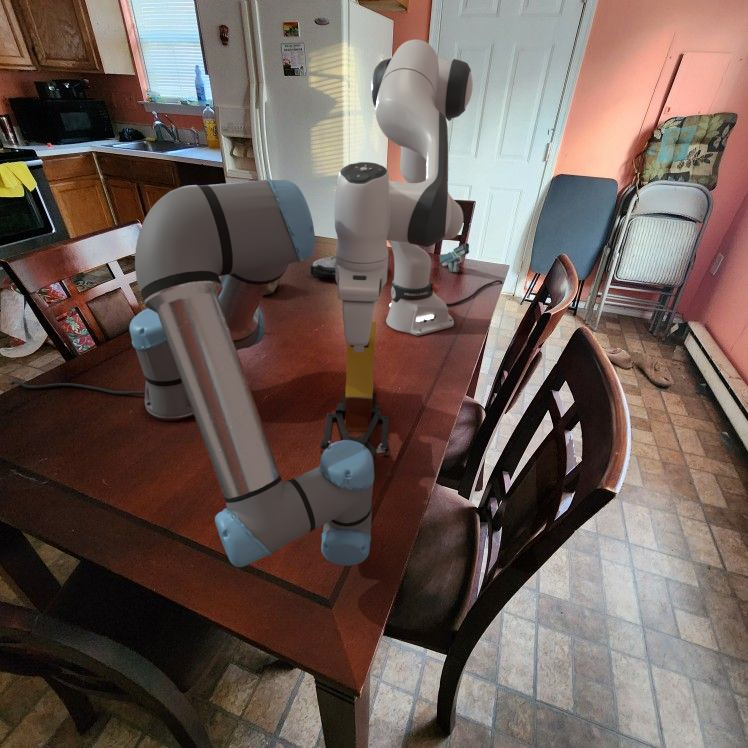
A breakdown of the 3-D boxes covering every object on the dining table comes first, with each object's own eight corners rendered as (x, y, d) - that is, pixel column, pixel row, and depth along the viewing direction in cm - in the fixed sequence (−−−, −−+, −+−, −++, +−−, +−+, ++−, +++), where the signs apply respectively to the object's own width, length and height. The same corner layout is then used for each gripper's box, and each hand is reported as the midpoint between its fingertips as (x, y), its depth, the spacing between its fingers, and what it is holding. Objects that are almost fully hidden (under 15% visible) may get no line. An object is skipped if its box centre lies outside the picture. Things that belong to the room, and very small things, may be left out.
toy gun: (467, 266, 164) (462, 241, 163) (442, 277, 182) (438, 255, 181) (474, 265, 165) (470, 240, 164) (449, 276, 183) (445, 254, 182)
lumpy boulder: (291, 289, 158) (274, 291, 144) (265, 297, 161) (246, 299, 146) (282, 260, 156) (264, 259, 141) (256, 268, 159) (236, 268, 144)
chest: (350, 390, 105) (350, 359, 100) (372, 391, 105) (374, 360, 100) (345, 430, 93) (345, 398, 87) (370, 431, 93) (372, 399, 87)
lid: (348, 320, 85) (345, 322, 76) (375, 321, 85) (375, 324, 76) (345, 395, 88) (342, 406, 79) (372, 396, 88) (371, 407, 79)
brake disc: (371, 289, 156) (371, 277, 153) (298, 278, 162) (298, 266, 160) (392, 263, 182) (392, 252, 179) (328, 254, 188) (328, 243, 185)
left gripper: (301, 487, 76) (319, 408, 95) (402, 492, 76) (399, 412, 95) (299, 459, 72) (318, 382, 91) (405, 464, 72) (402, 386, 91)
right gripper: (348, 250, 78) (347, 315, 86) (336, 294, 62) (337, 370, 70) (381, 252, 78) (377, 317, 86) (378, 296, 62) (375, 372, 70)
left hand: (359, 397), depth 93 cm, fingers closed on chest, 6 cm apart
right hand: (360, 341), depth 78 cm, fingers open, 5 cm apart
